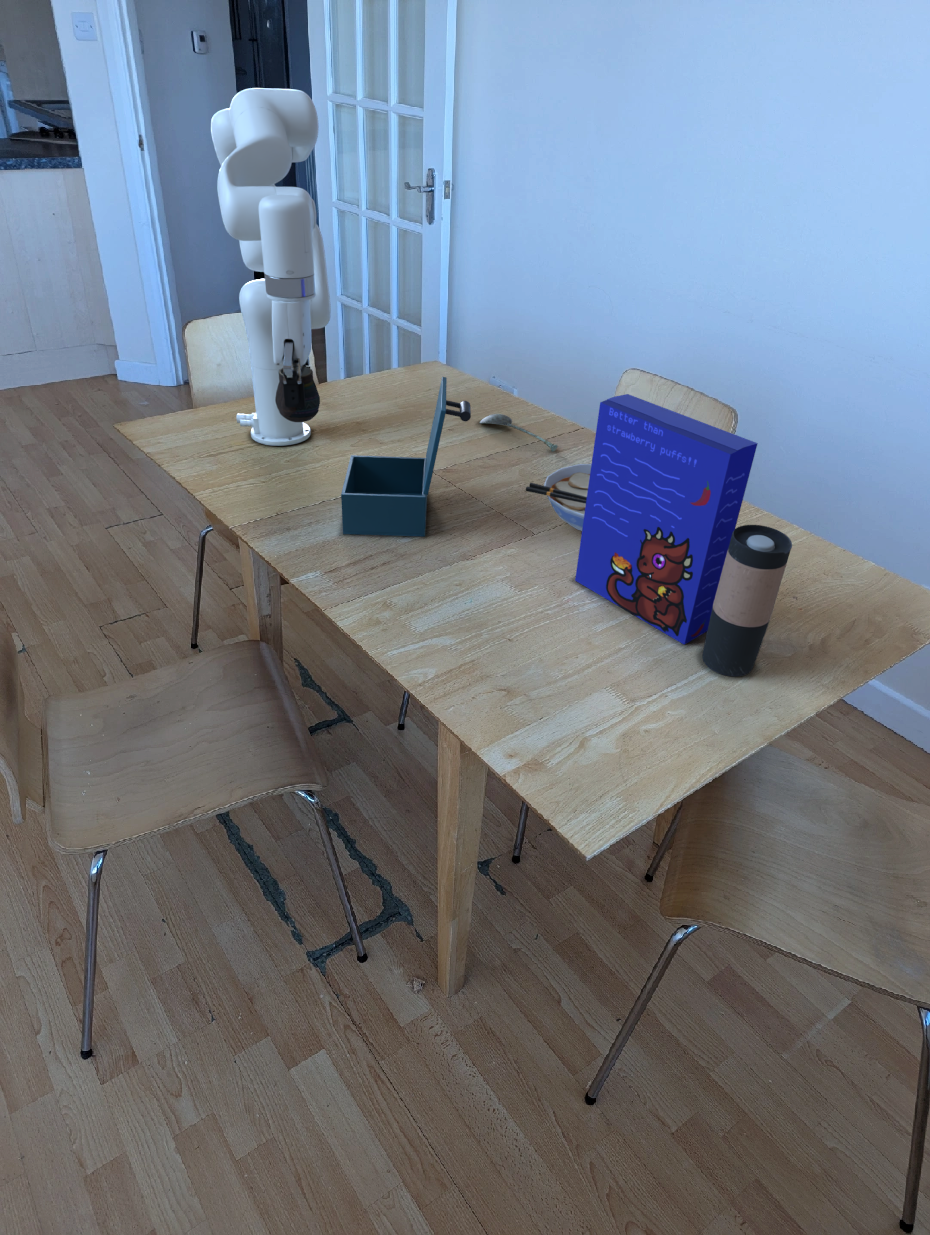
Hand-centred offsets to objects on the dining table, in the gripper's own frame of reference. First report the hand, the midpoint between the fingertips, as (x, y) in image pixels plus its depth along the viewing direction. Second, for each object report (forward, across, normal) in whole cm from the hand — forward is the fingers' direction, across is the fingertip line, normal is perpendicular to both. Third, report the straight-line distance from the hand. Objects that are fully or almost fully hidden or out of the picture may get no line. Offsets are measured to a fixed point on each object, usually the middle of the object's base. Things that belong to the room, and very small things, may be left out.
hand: (298, 397), depth 136 cm
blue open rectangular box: (+21, 0, +14) cm, 26 cm away
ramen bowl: (+21, +3, +53) cm, 58 cm away
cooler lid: (+6, 0, +22) cm, 23 cm away
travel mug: (+21, +42, +65) cm, 80 cm away
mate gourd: (+4, 0, 0) cm, 4 cm away
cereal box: (+21, +28, +55) cm, 65 cm away
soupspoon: (+22, -39, +41) cm, 60 cm away
